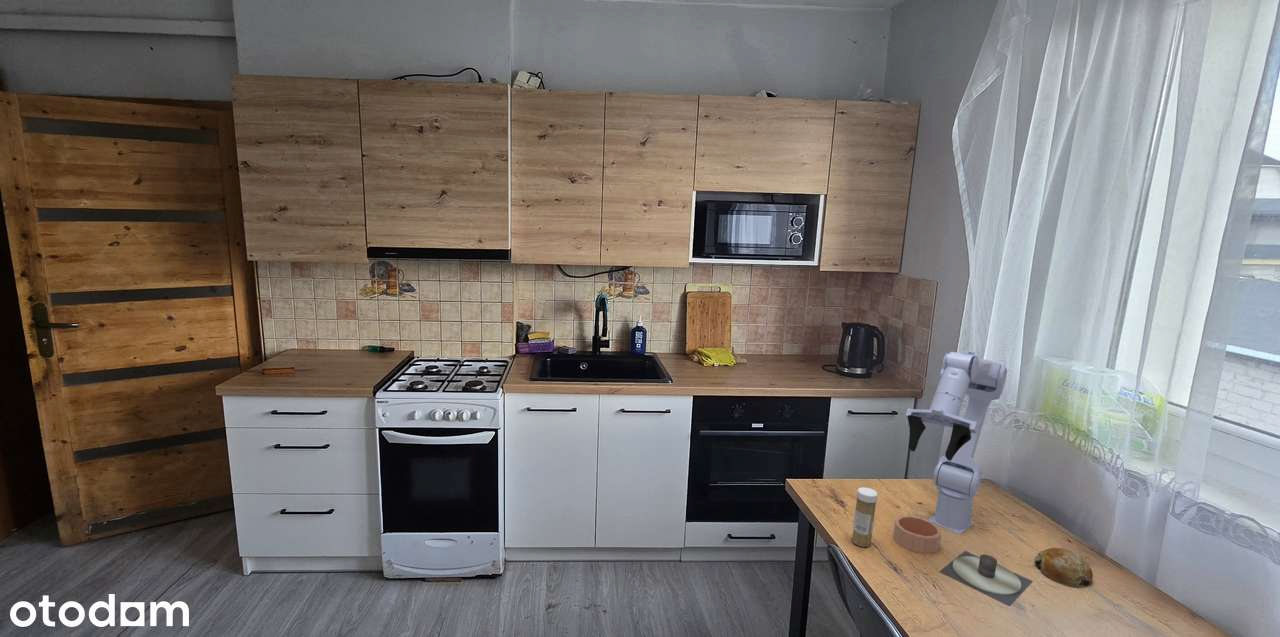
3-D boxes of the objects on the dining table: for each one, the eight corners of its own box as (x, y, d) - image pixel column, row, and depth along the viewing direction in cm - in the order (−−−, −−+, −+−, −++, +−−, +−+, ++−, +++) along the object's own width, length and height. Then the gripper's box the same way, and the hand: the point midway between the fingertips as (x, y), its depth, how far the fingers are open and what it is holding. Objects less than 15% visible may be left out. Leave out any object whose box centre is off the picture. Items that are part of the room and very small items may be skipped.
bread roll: (1062, 604, 124) (1086, 584, 120) (1021, 563, 131) (1042, 542, 127) (1086, 593, 129) (1110, 572, 124) (1045, 553, 136) (1066, 532, 132)
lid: (966, 552, 135) (969, 536, 134) (1029, 580, 125) (1032, 563, 124) (942, 572, 127) (945, 554, 126) (1007, 603, 117) (1011, 584, 116)
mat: (964, 552, 136) (965, 550, 136) (1032, 583, 125) (1032, 581, 125) (938, 573, 127) (939, 571, 127) (1009, 608, 116) (1009, 606, 116)
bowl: (904, 527, 146) (907, 511, 145) (945, 546, 138) (948, 529, 137) (885, 540, 139) (887, 523, 139) (926, 560, 132) (929, 542, 131)
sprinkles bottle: (875, 544, 137) (882, 492, 135) (863, 550, 135) (870, 497, 132) (858, 535, 141) (865, 484, 139) (847, 540, 138) (853, 489, 136)
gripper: (909, 385, 131) (890, 437, 127) (979, 396, 120) (960, 454, 116) (919, 400, 135) (900, 451, 131) (987, 413, 124) (969, 469, 120)
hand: (929, 453), depth 123 cm, fingers open, 7 cm apart
